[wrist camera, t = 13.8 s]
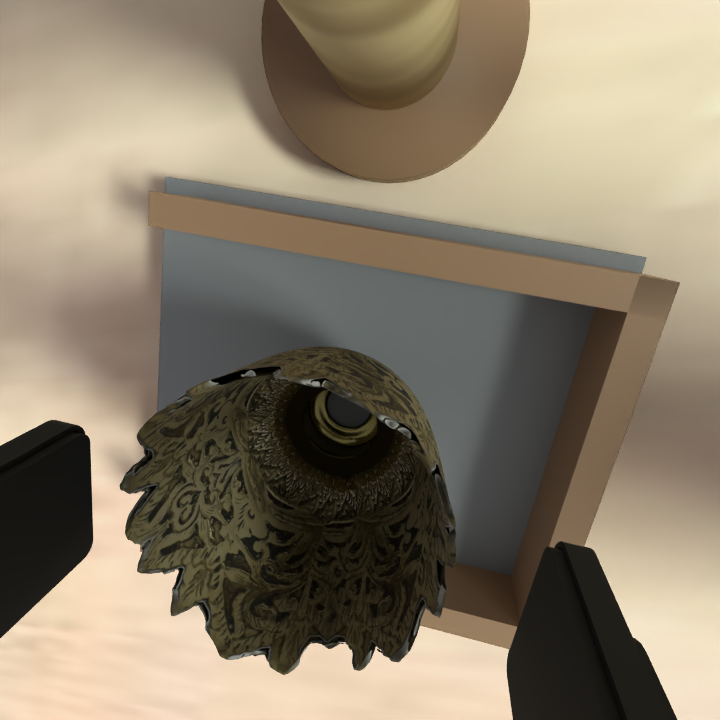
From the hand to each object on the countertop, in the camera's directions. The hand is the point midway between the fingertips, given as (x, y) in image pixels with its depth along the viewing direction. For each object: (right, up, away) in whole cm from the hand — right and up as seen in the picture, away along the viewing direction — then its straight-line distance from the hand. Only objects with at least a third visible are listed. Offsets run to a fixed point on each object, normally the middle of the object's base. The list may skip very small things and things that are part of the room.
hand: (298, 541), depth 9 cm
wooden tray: (+1, +2, +9) cm, 10 cm away
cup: (+1, +2, +8) cm, 9 cm away
